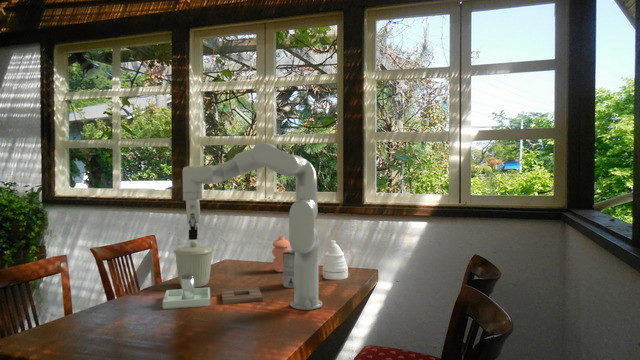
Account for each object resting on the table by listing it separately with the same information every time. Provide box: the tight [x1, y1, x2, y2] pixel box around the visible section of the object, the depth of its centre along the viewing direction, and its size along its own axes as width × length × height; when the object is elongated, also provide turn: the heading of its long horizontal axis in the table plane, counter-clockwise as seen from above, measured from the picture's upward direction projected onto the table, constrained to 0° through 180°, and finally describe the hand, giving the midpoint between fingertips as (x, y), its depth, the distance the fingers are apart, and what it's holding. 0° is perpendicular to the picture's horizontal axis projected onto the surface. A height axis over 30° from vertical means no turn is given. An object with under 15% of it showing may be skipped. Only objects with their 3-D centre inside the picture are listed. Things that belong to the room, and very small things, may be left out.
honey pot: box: [322, 239, 349, 281], centre depth 232 cm, size 13×13×18 cm
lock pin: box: [181, 275, 194, 300], centre depth 188 cm, size 5×5×10 cm
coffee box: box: [283, 249, 295, 289], centre depth 214 cm, size 9×6×16 cm
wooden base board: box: [221, 286, 264, 305], centre depth 194 cm, size 16×16×2 cm
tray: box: [162, 287, 211, 310], centre depth 188 cm, size 18×18×3 cm
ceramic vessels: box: [271, 235, 324, 282], centre depth 235 cm, size 35×21×19 cm, turn 36°
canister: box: [173, 240, 215, 288], centre depth 215 cm, size 18×18×21 cm
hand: (193, 237), depth 188 cm, fingers open, 9 cm apart
